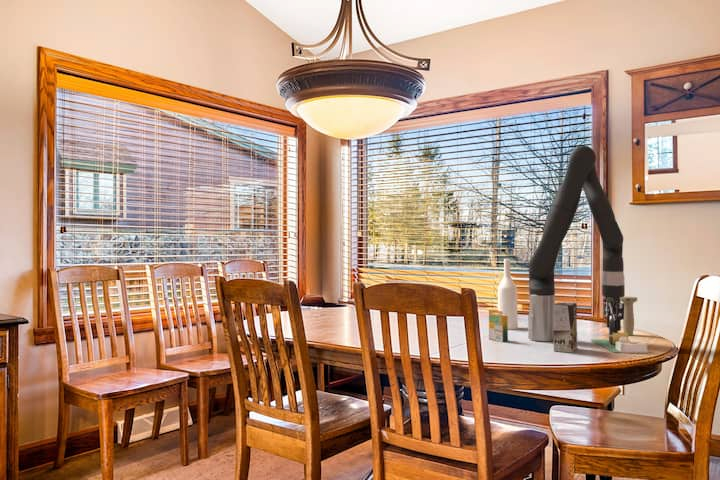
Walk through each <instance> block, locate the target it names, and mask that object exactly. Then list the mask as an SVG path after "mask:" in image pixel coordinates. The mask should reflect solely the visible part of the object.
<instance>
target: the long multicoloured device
mask: <svg viewBox="0 0 720 480" xmlns="http://www.w3.org/2000/svg"><path fill="white" fill-rule="evenodd" d="M609 336H612V339H613V344H616V342H618V340H619V338H620V337H627V338H628V339H629V336H628V333H624V332H619V331H615V330H614V318H613V315H609V328H608V337H609Z"/></svg>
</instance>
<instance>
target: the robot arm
mask: <svg viewBox="0 0 720 480" xmlns="http://www.w3.org/2000/svg"><path fill="white" fill-rule="evenodd" d="M596 160H597V155H596V152H595V151H594V149H593V148H591V147H590V146H587V145H580V146H577V147H576V148H575V149H573V150H572V151H571V152H570V154H569V158H568V163H567V168H566V170H565V171H566V172H565V175H564V178H563V179H562V182H561V184H560V186H559V188H558V189H557V192H556V194H555V196H554V198H553V200H552V202H551V205H550V207H549V210H548V213H547V216H546V219H545V223H544V226H543V232H542V235H541V239H540V241H539V243H538V245H537V248H536V250H535V252H534V254H533V255H532V256H531V257H530V260H529V262H528V278H529V279H528V285H529V286H528V289H529V313H528V317H527V318H528V326H527V328H528V330H527V331H528V339H530V340H531V341H534V342H535V341H537V342H552V341H553V342H554V330H553V305H554V304H556V295H555V292H556V287H555V267H556V263H557V259H558V255H559V251H560V248H561V245H562V244H563V241H564V240H565V238H566V236H567V234H568V232H569V230H570V228H571V225H572V223H573V220H574V218H575V215H576V213H577V210H578V207H579V203H580V200H581V196H582V192H583V191H584V195H585V198H586V200H587V204H588V206H589V210H590V212H591V215H592V218H593V220H594V222H595V224H596V225H597V229H598V231H599V235H600V237H601V241H602V274H601V294H602V295H601V296H602V297H604V299H602V300H603V301H602V304H603V315H604V316H605V318H606V328H608V329H609V315H613V318H614V330H615V331H618V332H621V330H622V326H621V323H622V322H621V321H623V319H624V303H623V302H622V301H620V297H626V295H625V294H626V293H625V274H624V273H625V272H624V269H625V267H624V265H625V264H624V257H623V251H624V250H623V249H624V247H623V245H624V235H623V233H622V231H621V228H620V226H619V224H618V222H617V220H616V216H615V213H614V211H613V207H612V205H611V203H610V199H609V198H608V196H607V194H606V191H605V190H604V188H603V186H602V184H601V181H600V180H599V177H598V173H597V168H596Z"/></svg>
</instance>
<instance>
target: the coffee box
mask: <svg viewBox="0 0 720 480" xmlns="http://www.w3.org/2000/svg"><path fill="white" fill-rule="evenodd" d="M577 305H578V304H577V302H557V303H556V302H555V304H554V305H553V330H554V341H553V351H554V352H561V353H568V354H569V353H570V354H571V353H574V352H575V351H576V350H577V349H578V331H577V330H578V328H577V327H578V323H577V322H578V317H577V316H578V315H577V313H578V310H577V308H578V307H577Z"/></svg>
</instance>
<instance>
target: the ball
mask: <svg viewBox="0 0 720 480" xmlns="http://www.w3.org/2000/svg"><path fill="white" fill-rule="evenodd" d="M618 342H621V343H623V344H631V343H630V339H629V337H628V338H627V337H620V338H619V340H618Z"/></svg>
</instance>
